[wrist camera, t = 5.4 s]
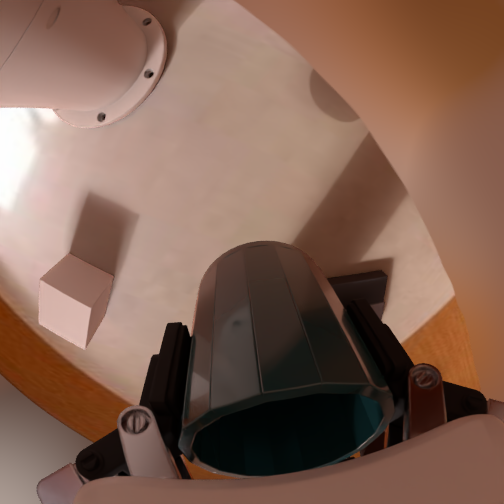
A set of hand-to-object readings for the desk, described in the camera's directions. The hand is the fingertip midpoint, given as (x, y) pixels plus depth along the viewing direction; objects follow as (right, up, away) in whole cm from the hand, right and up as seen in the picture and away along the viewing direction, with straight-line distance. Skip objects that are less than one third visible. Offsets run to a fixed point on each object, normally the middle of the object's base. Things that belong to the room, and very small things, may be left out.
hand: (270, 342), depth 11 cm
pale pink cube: (-19, 0, +16) cm, 25 cm away
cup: (0, +1, +3) cm, 3 cm away
